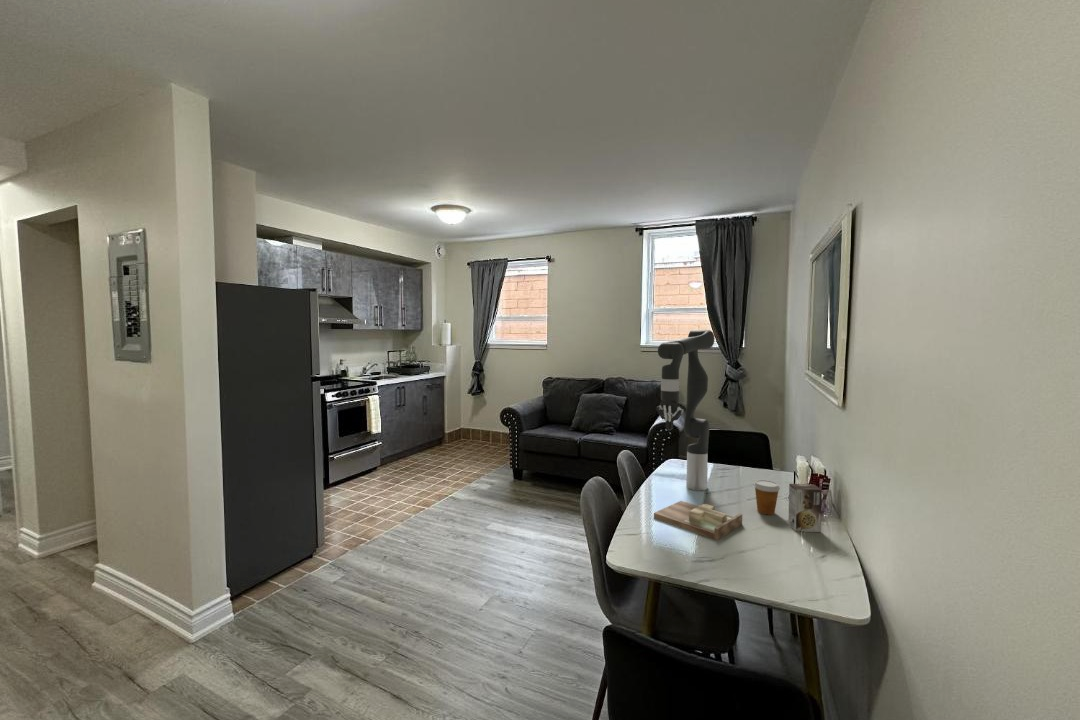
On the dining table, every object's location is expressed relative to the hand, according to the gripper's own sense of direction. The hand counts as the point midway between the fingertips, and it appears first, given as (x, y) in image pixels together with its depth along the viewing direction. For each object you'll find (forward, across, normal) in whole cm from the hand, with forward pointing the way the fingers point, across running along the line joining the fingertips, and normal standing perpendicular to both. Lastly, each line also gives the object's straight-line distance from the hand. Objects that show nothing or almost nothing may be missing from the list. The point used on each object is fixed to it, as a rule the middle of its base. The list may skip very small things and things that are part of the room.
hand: (669, 429), depth 191 cm
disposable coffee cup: (+32, -32, -22) cm, 50 cm away
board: (+32, -18, +8) cm, 38 cm away
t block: (+30, -23, +8) cm, 39 cm away
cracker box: (+32, -48, -16) cm, 60 cm away
